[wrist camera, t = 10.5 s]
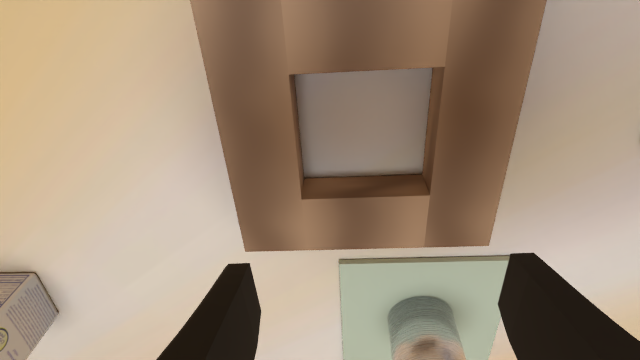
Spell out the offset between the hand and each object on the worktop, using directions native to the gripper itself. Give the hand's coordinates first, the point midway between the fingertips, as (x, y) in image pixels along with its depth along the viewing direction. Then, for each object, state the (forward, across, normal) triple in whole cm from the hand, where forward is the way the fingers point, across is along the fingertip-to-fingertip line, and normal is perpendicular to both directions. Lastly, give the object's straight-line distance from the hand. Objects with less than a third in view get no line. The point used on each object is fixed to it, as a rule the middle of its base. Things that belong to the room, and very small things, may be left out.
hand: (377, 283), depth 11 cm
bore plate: (+10, 0, 0) cm, 10 cm away
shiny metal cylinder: (+10, -4, +15) cm, 18 cm away
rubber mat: (+10, -4, +15) cm, 19 cm away
